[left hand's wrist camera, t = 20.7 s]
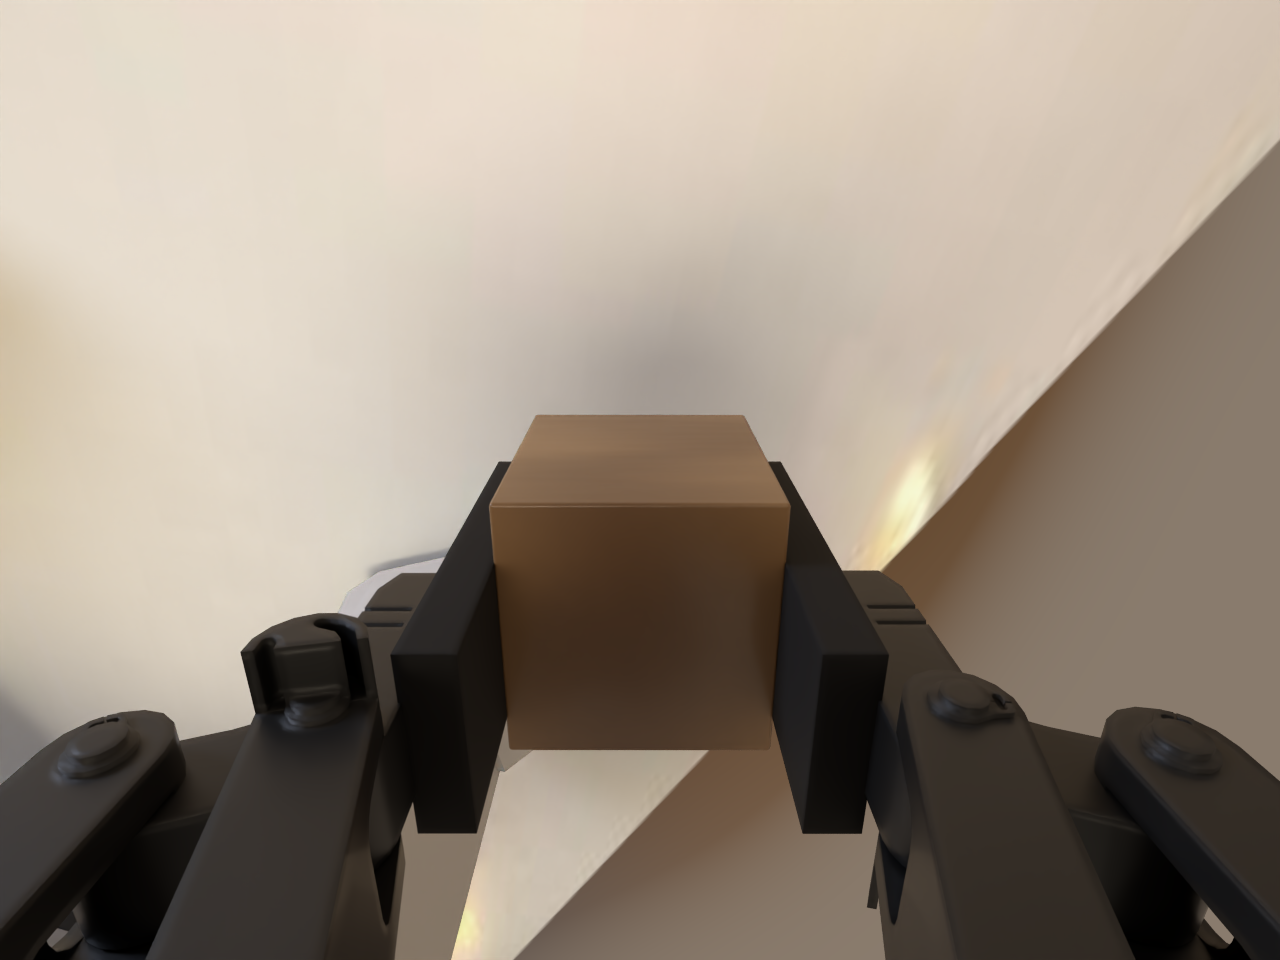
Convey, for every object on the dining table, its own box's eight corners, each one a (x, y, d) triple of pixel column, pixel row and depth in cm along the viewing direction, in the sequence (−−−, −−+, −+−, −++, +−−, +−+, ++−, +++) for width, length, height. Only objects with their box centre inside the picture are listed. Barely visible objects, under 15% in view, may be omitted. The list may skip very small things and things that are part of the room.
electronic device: (402, 661, 48) (60, 1298, 20) (361, 567, 45) (-100, 1150, 17) (576, 625, 47) (473, 1248, 19) (544, 527, 44) (369, 1081, 16)
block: (744, 414, 14) (791, 503, 10) (734, 600, 15) (770, 751, 11) (535, 413, 14) (487, 503, 10) (545, 601, 15) (508, 751, 11)
